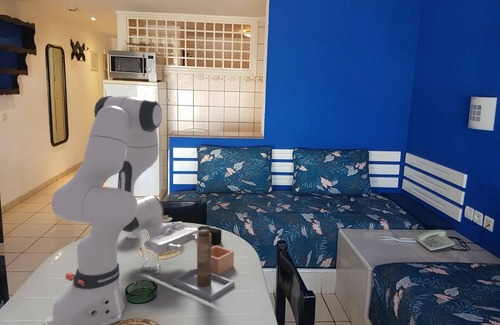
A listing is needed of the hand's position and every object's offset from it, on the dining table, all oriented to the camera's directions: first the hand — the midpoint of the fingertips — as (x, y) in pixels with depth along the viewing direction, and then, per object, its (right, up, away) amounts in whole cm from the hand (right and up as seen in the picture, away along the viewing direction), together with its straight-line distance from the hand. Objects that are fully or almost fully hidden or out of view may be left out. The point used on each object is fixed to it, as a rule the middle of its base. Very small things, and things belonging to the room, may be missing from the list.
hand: (190, 244), depth 139 cm
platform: (-22, -3, +53) cm, 57 cm away
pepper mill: (+5, -13, -3) cm, 14 cm away
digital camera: (+3, -7, +35) cm, 36 cm away
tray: (+5, -14, -3) cm, 15 cm away
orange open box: (+9, -12, +10) cm, 18 cm away
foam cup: (-32, -5, +42) cm, 53 cm away
